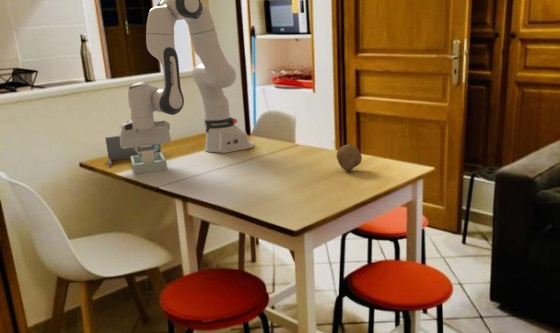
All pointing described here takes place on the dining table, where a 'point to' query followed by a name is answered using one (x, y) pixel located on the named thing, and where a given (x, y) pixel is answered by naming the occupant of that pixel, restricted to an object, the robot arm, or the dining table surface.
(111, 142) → the bay
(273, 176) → the dining table surface
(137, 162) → the tray
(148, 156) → the tall grey rectangular block
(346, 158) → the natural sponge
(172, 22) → the robot arm
